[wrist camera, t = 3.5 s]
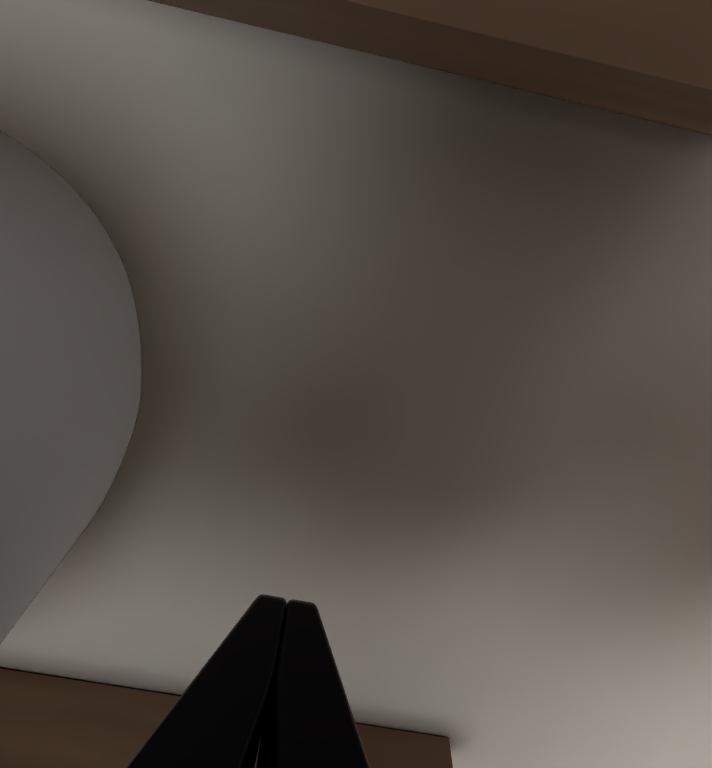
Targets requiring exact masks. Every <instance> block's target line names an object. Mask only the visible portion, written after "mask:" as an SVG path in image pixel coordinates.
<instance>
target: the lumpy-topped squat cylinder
mask: <svg viewBox="0 0 712 768" xmlns="http://www.w3.org/2000/svg"><path fill="white" fill-rule="evenodd" d="M140 395H141V345H140V333H139V325H138V318H137V312H136V306H135V302H134V297H133V293H132V289H131V286H130V282H129V279H128V276H127V273H126V271H125V268H124V265H123V263H122V261H121V258H120V256H119V254H118V252H117V250H116V248H115V246H114V244H113V243H112V241H111V239H110V237H109V236H108V234H107V232H106V231H105V229H104V228H103V226H102V225H101V223H100V222H99V220H98V219H97V217H96V216H95V214H94V213H93V212H92V210H91V209H90V208H89V207H88V205H87V204H86V203H85V202H84V200H83V199H82V198H81V197H80V196H79V195H78V193H77V192H76V191H75V190H74V189H73V188H72V187H71V186H70V185H69V184H68V183H67V182H66V181H65V180H64V179H63V178H62V177H61V176H60V175H59V174H58V173H57V172H56V171H55V170H54V169H53V168H51V167H50V166H49V165H48V164H47V163H46V162H44V161H43V160H42V159H41V158H39V157H38V156H37V155H35V154H34V153H33V152H31V151H30V150H29V149H27V148H26V147H24V146H23V145H21V144H20V143H18V142H17V141H15V140H14V139H12V138H10V137H9V136H7V135H5V134H4V133H2V132H0V644H1V643H2V641H3V640H4V639H5V637H6V636H7V635H8V633H9V632H10V630H11V629H12V628H13V626H14V625H15V624H16V622H17V621H18V619H19V618H20V617H21V615H22V614H23V613H24V611H25V610H26V609H27V607H28V606H29V604H30V603H31V602H32V600H33V599H34V598H35V596H36V595H37V594H38V592H39V591H40V589H41V588H42V587H43V585H44V584H45V583H46V581H47V580H48V578H49V577H50V576H51V574H52V573H53V572H54V570H55V569H56V568H57V566H58V565H59V563H60V562H61V561H62V559H63V558H64V557H65V555H66V554H67V552H68V551H69V550H70V548H71V547H72V546H73V544H74V543H75V542H76V540H77V539H78V537H79V536H80V535H81V533H82V532H83V531H84V529H85V528H86V527H87V525H88V524H89V522H90V521H91V520H92V518H93V517H94V515H95V514H96V512H97V511H98V509H99V507H100V506H101V504H102V502H103V500H104V498H105V496H106V495H107V493H108V491H109V489H110V486H111V484H112V482H113V480H114V478H115V476H116V474H117V471H118V469H119V467H120V465H121V462H122V460H123V457H124V455H125V452H126V450H127V447H128V444H129V442H130V439H131V436H132V433H133V430H134V426H135V423H136V419H137V415H138V410H139V404H140Z"/></svg>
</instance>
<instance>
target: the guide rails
mask: <svg viewBox="0 0 712 768" xmlns="http://www.w3.org/2000/svg"><path fill="white" fill-rule="evenodd" d="M149 1H154V2H158V3H162V4H166V5H170V6H175V7H179V8H183V9H187V10H191V11H195V12H200V13H204V14H208V15H212V16H216V17H221V18H225V19H229V20H233V21H237V22H241V23H246V24H250V25H254V26H258V27H262V28H267V29H271V30H275V31H279V32H283V33H287V34H292V35H296V36H300V37H304V38H308V39H313V40H317V41H321V42H325V43H329V44H333V45H338V46H342V47H346V48H350V49H354V50H359V51H363V52H367V53H371V54H375V55H379V56H384V57H388V58H392V59H396V60H400V61H405V62H409V63H413V64H417V65H421V66H425V67H430V68H434V69H438V70H442V71H446V72H451V73H455V74H459V75H463V76H467V77H471V78H476V79H480V80H484V81H488V82H492V83H497V84H501V85H505V86H509V87H513V88H517V89H522V90H526V91H530V92H534V93H538V94H543V95H547V96H551V97H555V98H559V99H563V100H568V101H572V102H576V103H580V104H584V105H589V106H593V107H597V108H601V109H605V110H609V111H614V112H618V113H622V114H626V115H630V116H635V117H639V118H643V119H647V120H651V121H656V122H660V123H664V124H668V125H672V126H676V127H681V128H685V129H689V130H693V131H697V132H702V133H706V134H710V135H712V0H149ZM180 697H181V696H174V695H168V694H161V693H155V692H149V691H142V690H136V689H129V688H123V687H116V686H110V685H103V684H97V683H91V682H84V681H78V680H71V679H65V678H58V677H52V676H45V675H39V674H33V673H26V672H20V671H13V670H7V669H0V768H126V767H127V766H128V764H129V763H130V762H131V761H132V759H133V758H134V757H135V755H136V754H137V753H138V751H139V750H140V749H141V748H142V746H143V745H144V744H145V742H146V741H147V740H148V738H149V737H150V736H151V734H152V733H153V732H154V731H155V729H156V728H157V727H158V725H159V724H160V723H161V721H162V720H163V719H164V718H165V716H166V715H167V714H168V712H169V711H170V710H171V708H172V707H173V706H174V705H175V703H176V702H177V701H178V699H179V698H180ZM356 727H357V730H358V733H359V736H360V739H361V742H362V745H363V748H364V751H365V754H366V757H367V760H368V763H369V766H370V768H453V766H452V759H451V751H450V744H449V738H445V737H438V736H432V735H425V734H419V733H413V732H406V731H400V730H393V729H387V728H380V727H374V726H367V725H361V724H356ZM260 740H261V739H260ZM259 746H260V744H259ZM258 751H259V749H258ZM257 758H258V753H257ZM257 758H256V763H255V767H254V768H256V764H257Z"/></svg>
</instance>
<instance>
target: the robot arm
mask: <svg viewBox="0 0 712 768" xmlns="http://www.w3.org/2000/svg"><path fill="white" fill-rule="evenodd" d="M286 604H287V606H286ZM260 739H261V740H260ZM259 744H260V746H259ZM258 749H259V751H258ZM257 753H258V758H257ZM256 758H257V764H256V768H370V766H369V763H368V760H367V757H366V754H365V751H364V748H363V745H362V742H361V739H360V736H359V733H358V730H357V727H356V724H355V721H354V718H353V715H352V712H351V709H350V706H349V703H348V700H347V696H346V693H345V690H344V687H343V684H342V681H341V678H340V675H339V672H338V669H337V666H336V663H335V660H334V657H333V654H332V651H331V648H330V645H329V642H328V639H327V636H326V633H325V630H324V627H323V624H322V621H321V618H320V614H319V611H318V609H317V607H316V605H315V604H314V603H311V602H305V601H299V600H289V601H288V603H287V602H286V600H285V599H284V598H281V597H276V596H270V595H259V596H258V597H257V598H256V599H255V600H254V602H253V603H252V604H251V606H250V607H249V608H248V610H247V611H246V612H245V613H244V615H243V616H242V617H241V619H240V620H239V621H238V623H237V624H236V625H235V626H234V628H233V629H232V630H231V632H230V633H229V634H228V636H227V637H226V638H225V639H224V641H223V642H222V643H221V645H220V646H219V647H218V649H217V650H216V651H215V652H214V654H213V655H212V656H211V658H210V659H209V660H208V662H207V663H206V664H205V665H204V667H203V668H202V669H201V671H200V672H199V673H198V675H197V676H196V677H195V679H194V680H193V681H192V682H191V684H190V685H189V686H188V688H187V689H186V690H185V692H184V693H183V694H182V695H181V697H180V698H179V699H178V701H177V702H176V703H175V705H174V706H173V707H172V708H171V710H170V711H169V712H168V714H167V715H166V716H165V718H164V719H163V720H162V721H161V723H160V724H159V725H158V727H157V728H156V729H155V731H154V732H153V733H152V734H151V736H150V737H149V738H148V740H147V741H146V742H145V744H144V745H143V746H142V748H141V749H140V750H139V751H138V753H137V754H136V755H135V757H134V758H133V759H132V761H131V762H130V763H129V764H128V766H127V767H126V768H254V767H255V763H256Z"/></svg>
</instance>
